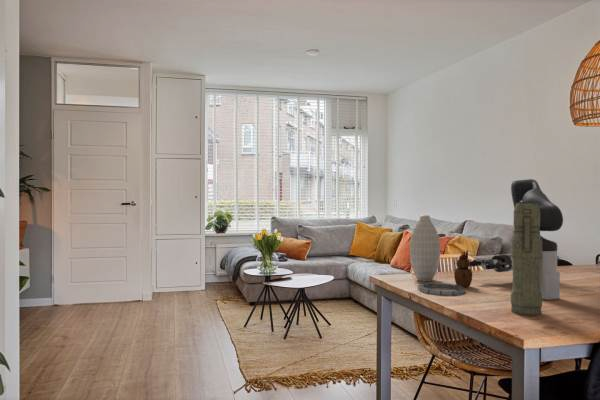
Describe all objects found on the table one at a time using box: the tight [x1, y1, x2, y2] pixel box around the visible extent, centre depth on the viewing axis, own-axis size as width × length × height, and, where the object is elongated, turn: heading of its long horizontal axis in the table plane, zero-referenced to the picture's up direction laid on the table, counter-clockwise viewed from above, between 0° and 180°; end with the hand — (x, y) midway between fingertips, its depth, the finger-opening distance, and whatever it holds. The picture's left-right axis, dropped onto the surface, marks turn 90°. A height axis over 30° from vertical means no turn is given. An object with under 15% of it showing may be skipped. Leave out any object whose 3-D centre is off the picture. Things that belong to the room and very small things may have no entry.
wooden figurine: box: [453, 249, 473, 288], centre depth 193 cm, size 7×6×15 cm
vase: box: [409, 214, 441, 282], centre depth 207 cm, size 13×13×28 cm
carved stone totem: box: [510, 201, 543, 317], centre depth 150 cm, size 9×12×35 cm
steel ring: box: [417, 282, 466, 296], centre depth 184 cm, size 17×17×2 cm
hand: (478, 265), depth 196 cm, fingers open, 8 cm apart
